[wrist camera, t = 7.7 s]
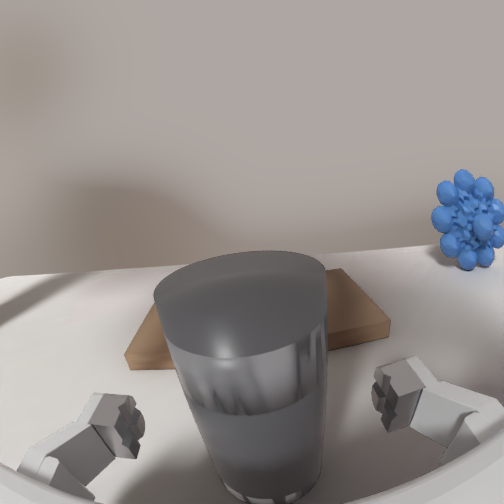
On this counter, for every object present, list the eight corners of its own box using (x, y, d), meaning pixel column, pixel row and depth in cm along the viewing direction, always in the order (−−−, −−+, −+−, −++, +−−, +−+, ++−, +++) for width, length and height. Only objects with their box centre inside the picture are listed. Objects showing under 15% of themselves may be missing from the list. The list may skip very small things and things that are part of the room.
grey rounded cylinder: (220, 509, 8) (128, 327, 6) (222, 435, 13) (174, 261, 10) (329, 496, 8) (352, 300, 6) (311, 424, 13) (304, 243, 10)
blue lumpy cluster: (442, 288, 24) (446, 170, 21) (422, 266, 31) (422, 168, 28) (517, 278, 22) (525, 174, 18) (492, 260, 28) (495, 170, 25)
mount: (130, 369, 19) (113, 326, 18) (164, 304, 31) (155, 271, 30) (388, 336, 19) (393, 289, 18) (341, 280, 31) (340, 246, 30)
